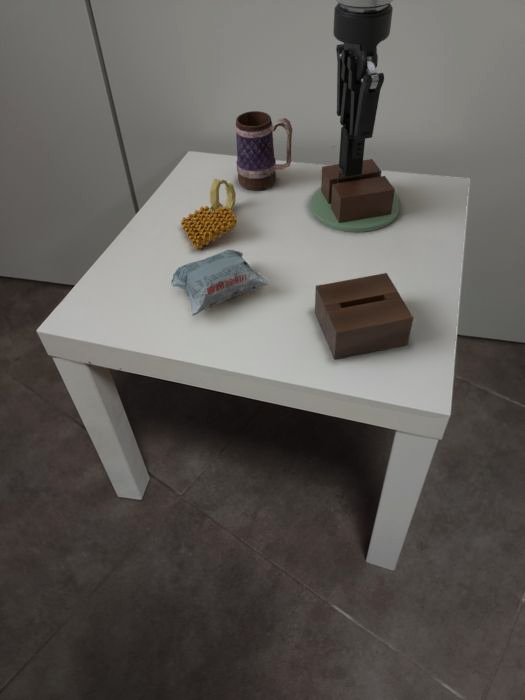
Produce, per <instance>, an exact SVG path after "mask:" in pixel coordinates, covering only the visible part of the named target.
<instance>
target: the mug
mask: <svg viewBox="0 0 525 700" xmlns="http://www.w3.org/2000/svg"><path fill="white" fill-rule="evenodd" d="M278 127H282V128H283V129H284V130H285V132H286V135H287V136H286V162H285V163H277V162H276V157H275V147H274V135H273V132H276V131H277V128H278ZM235 135H236V157H237V158H236V171H237V180H238V184H239V185H240V186H241V187H242V188H244V189H246V190H250V191H263V190H266V189H268V188H270V187H271V186H273V185H274V184H275V183H276V180H277V174H276V172H277V171H284V170H286V169H287V168H289V167H290V166H291V163H292V138H293V126H292V123H291V121H290V120H289V119H287V118H286V117H284V118H279V119H278V120H275V122H274V124H273V121H272V117H271V115H270V114H269V113H267V112H264V111H260V110H252V111H246V112H243V113H241V114H239V115H238V116H237V117H236V119H235Z"/></svg>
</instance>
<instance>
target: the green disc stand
mask: <svg viewBox="0 0 525 700" xmlns="http://www.w3.org/2000/svg"><path fill="white" fill-rule="evenodd" d="M338 171H342V169H341V168H340V167H339V163H338V164H331V165H324V166H322V167H321V180H320V181H321V182H320V183H321V184H320V187H319V188H318V189H317V190H316V191H315V192H314V193H313V195H312V196H311V199H310V210H311V213H312V215H313V217H314V218H316V220H317V221H319V222H320V223H321V224H323V225H325V226H327V227H329V228H332V229H333V230H338V231H341V232H349V233H364V232H372V231H376V230H379V229H382V228H384V227H386V226H388V225H390V224H391V223H393V222H394V221H395V219H397V217H398V215H399V212H400V206H401V203H400V200H399V197H398V196H397V194H396V193H395V192H396V189H395V187H394V186H393V185H392V183H391V182H390V181H389V179H388V178H387V176H386V175H382V170H381V168H380V167H379V166H378V165H377V163H376V162H375V161H374V159H373V158H368V159H363V166H362V174H361V180H356V181H349V182H343V183H337V176H338Z"/></svg>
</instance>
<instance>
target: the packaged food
mask: <svg viewBox="0 0 525 700" xmlns="http://www.w3.org/2000/svg"><path fill="white" fill-rule="evenodd" d="M243 256H244V254H243V252H241V251H238V250H234V249H226V250H224V251H221V252H219V253H217V254H214V255H211V256H209V257H205V258H204V259H201V260H196V261H191V262H189V263H186V264H184V265H182V266H179V267H177V269H175V272H174V273H173V275H172V279H171V286H172V287H174V288H175V287H178V288H180V289H181V290H183V291H184V292H186V293H188V297H189V301H190V311H191V316H193V317H194V316H196V315H198V314H200V313H202V312H203V311H206V310H209V309H211V308H213V307H215V306H217V305H219V304H221V303H223V302H225V301H226V300H229V299H234V298H236V297H238V296H241V295H243V294H246V293H249V292H252V291H256V290H258V289H259V288H262V287H264V286H267V285H269V283H270V279H268V278H267V277H265V276H264V275H262V274H261V273H259V271H258V270H256V269H253V268H252V267H251V266H250V264H249V263H248V262H247V261H246V260H245V259H244V258H243Z"/></svg>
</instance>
